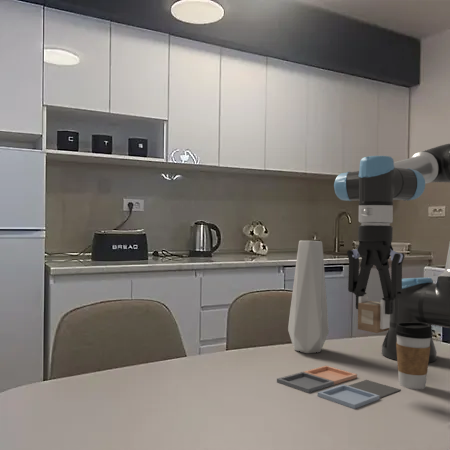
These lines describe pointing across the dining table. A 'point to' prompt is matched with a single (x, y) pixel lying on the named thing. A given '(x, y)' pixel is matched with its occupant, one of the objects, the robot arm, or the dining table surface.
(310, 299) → the vase
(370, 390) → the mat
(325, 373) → the tray terracotta
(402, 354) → the coffee cup
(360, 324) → the letter block
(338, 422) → the dining table surface
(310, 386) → the tray charcoal
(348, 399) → the tray slate
